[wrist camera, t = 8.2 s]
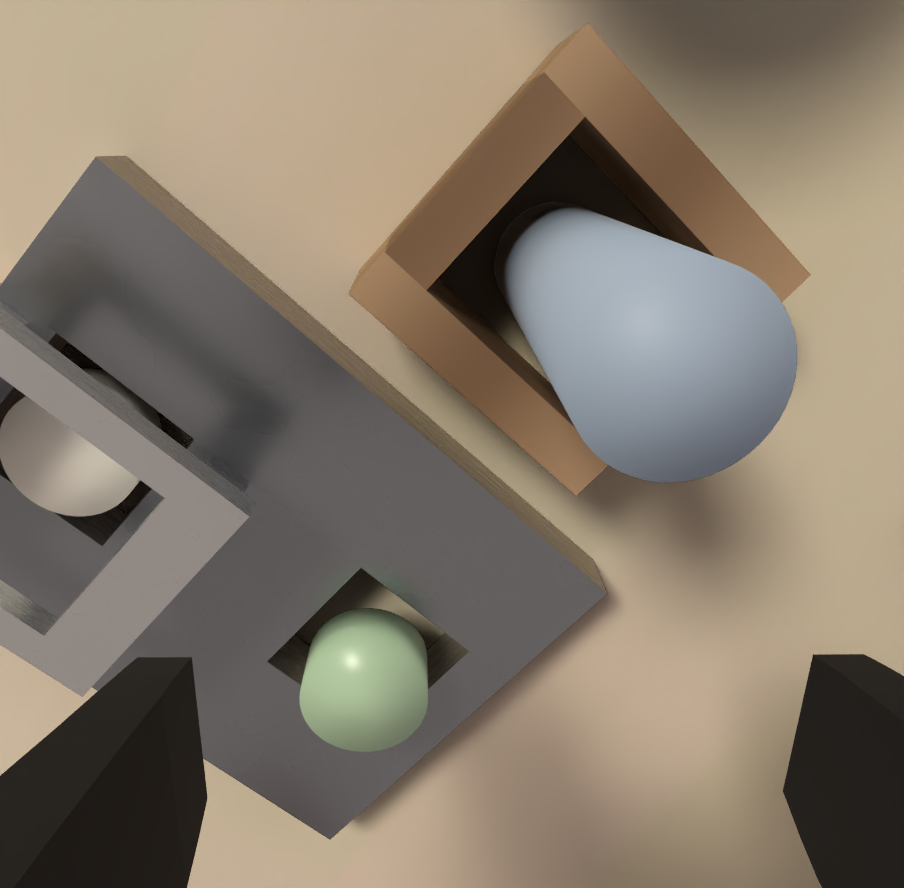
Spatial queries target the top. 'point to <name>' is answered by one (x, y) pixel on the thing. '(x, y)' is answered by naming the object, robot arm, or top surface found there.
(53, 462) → the button reset
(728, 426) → the dowel
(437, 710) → the panel
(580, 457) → the holder
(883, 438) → the top surface
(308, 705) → the button on
